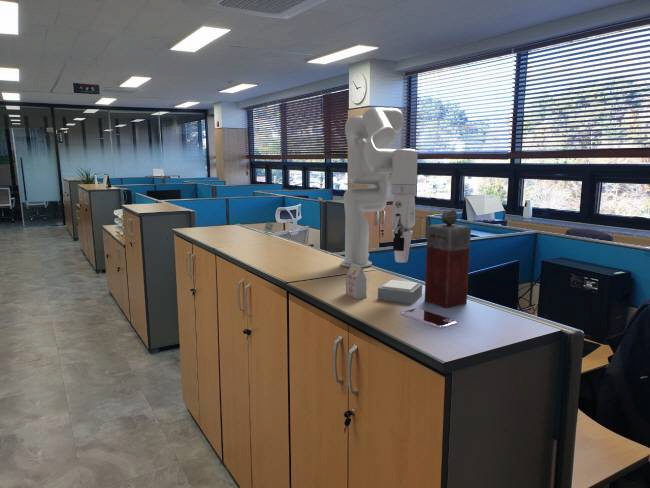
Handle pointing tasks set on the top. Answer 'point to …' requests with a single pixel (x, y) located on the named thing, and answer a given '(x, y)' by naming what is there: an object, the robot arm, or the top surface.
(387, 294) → the plinth
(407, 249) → the smoothie
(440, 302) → the red square canister
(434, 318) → the mobile phone
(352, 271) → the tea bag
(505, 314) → the top surface
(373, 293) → the top surface
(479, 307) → the top surface
